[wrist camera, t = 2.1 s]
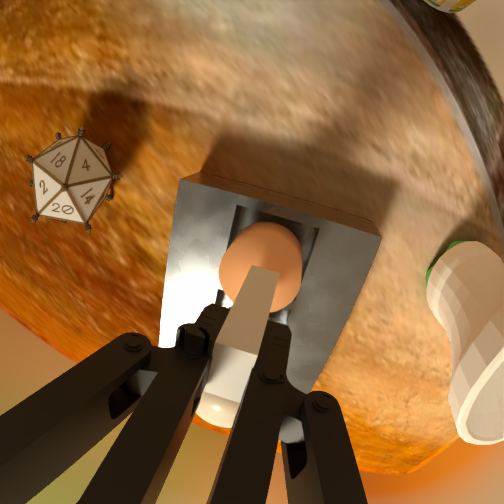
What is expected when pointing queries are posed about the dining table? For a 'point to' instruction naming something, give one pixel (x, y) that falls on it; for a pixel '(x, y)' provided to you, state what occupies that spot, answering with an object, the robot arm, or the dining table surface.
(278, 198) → the panel
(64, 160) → the game die
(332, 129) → the dining table surface
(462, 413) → the cup
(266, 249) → the terracotta button
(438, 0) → the supplement bottle
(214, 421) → the ivory button
